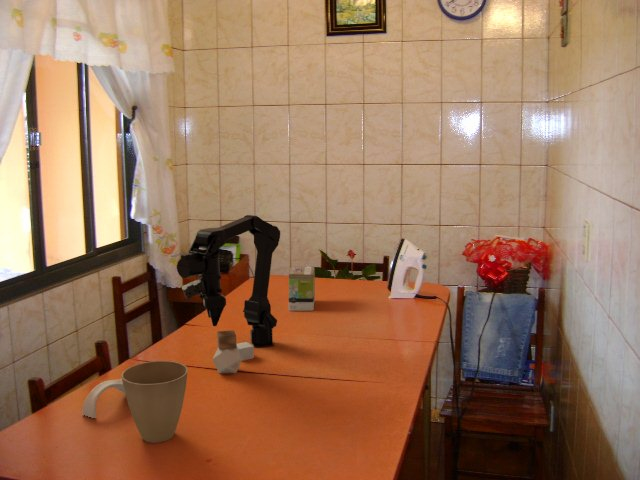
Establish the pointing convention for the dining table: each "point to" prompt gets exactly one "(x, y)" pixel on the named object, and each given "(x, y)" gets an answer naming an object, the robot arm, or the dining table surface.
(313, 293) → the tea box
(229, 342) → the walnut block
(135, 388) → the plant pot
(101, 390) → the white curved arch
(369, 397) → the dining table surface
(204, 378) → the dining table surface
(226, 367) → the pale faceted polyhedron
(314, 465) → the dining table surface
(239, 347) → the grey block
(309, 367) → the dining table surface
